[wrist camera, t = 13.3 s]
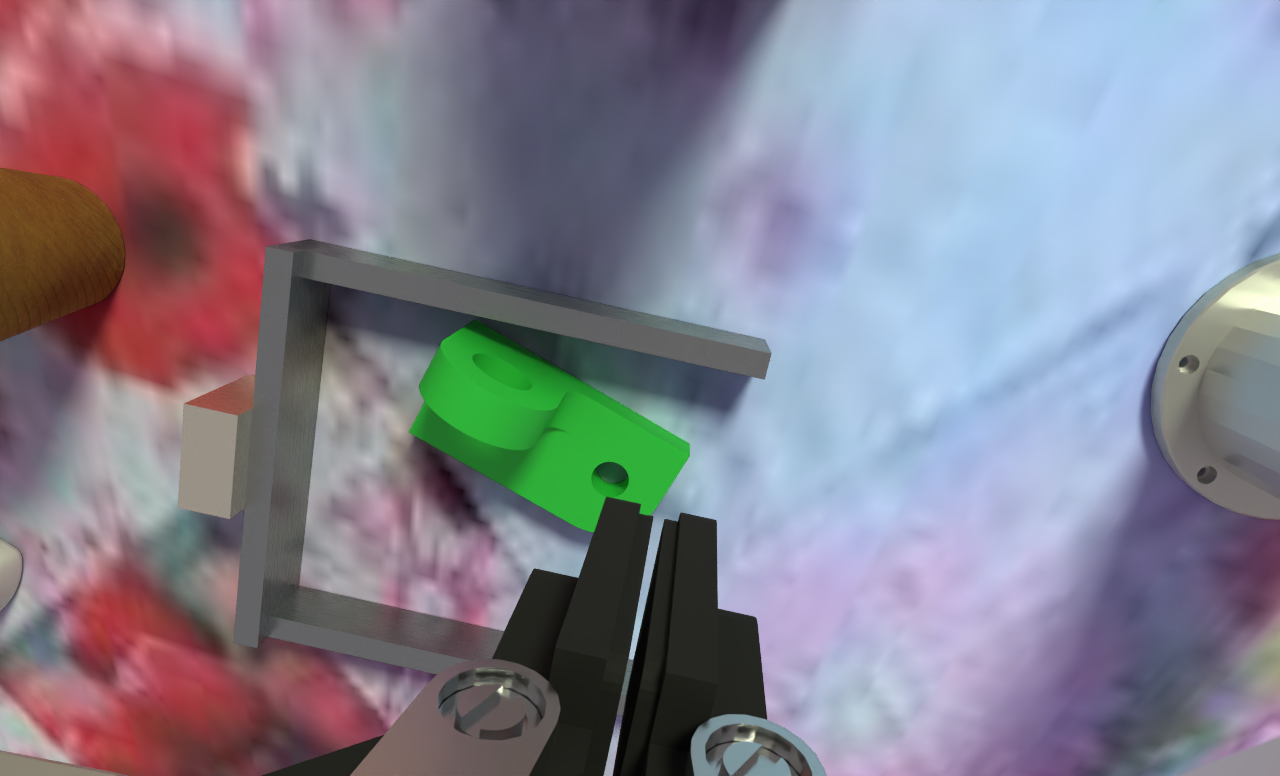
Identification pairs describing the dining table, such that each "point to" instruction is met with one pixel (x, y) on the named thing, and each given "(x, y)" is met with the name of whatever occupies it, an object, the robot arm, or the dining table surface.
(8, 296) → the disposable coffee cup
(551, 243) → the dining table surface
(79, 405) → the dining table surface
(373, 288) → the drawer frame
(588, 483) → the mechanical part
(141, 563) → the dining table surface
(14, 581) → the eye dropper bottle
